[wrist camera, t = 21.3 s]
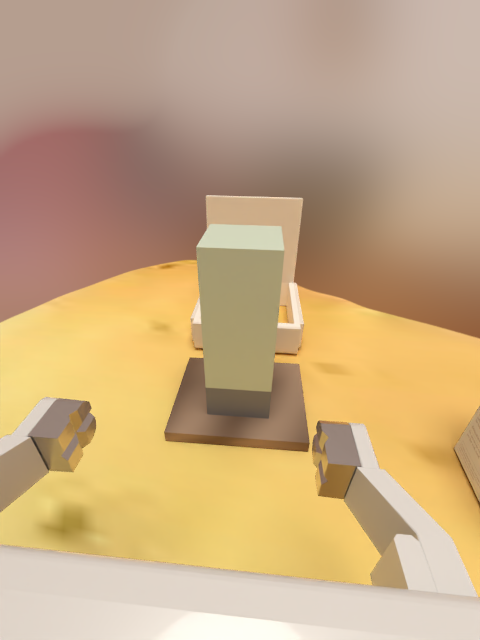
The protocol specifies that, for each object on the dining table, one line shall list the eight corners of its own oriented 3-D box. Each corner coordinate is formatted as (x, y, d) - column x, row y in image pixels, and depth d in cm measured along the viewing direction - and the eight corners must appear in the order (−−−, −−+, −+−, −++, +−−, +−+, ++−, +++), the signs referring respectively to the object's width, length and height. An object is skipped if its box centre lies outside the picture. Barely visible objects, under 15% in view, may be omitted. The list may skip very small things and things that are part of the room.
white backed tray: (190, 350, 34) (179, 220, 26) (208, 299, 43) (203, 195, 36) (300, 356, 33) (320, 225, 25) (293, 304, 43) (306, 198, 35)
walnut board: (165, 440, 24) (164, 432, 23) (190, 365, 31) (189, 357, 31) (307, 451, 23) (309, 443, 23) (297, 371, 31) (299, 364, 30)
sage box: (207, 414, 25) (196, 247, 17) (216, 372, 29) (210, 223, 22) (268, 418, 25) (284, 250, 17) (268, 376, 29) (281, 226, 21)
